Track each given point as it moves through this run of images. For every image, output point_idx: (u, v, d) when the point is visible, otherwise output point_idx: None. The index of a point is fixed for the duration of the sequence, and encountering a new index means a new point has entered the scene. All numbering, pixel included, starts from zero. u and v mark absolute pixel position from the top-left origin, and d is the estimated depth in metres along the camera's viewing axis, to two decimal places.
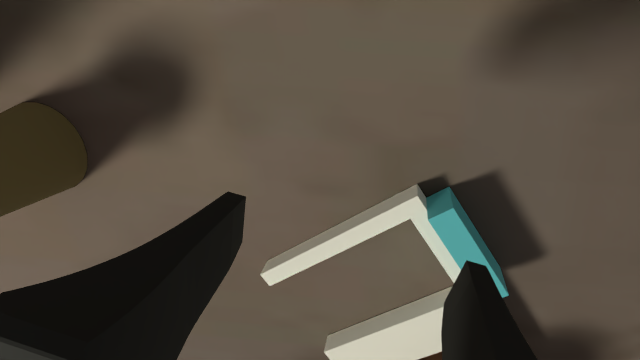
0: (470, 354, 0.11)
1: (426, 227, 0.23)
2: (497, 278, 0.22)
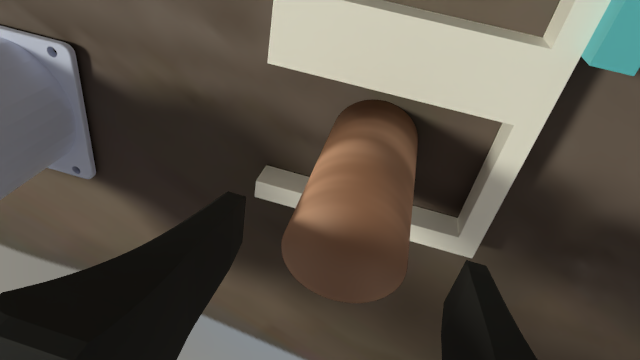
0: (469, 354, 0.11)
1: None
2: None
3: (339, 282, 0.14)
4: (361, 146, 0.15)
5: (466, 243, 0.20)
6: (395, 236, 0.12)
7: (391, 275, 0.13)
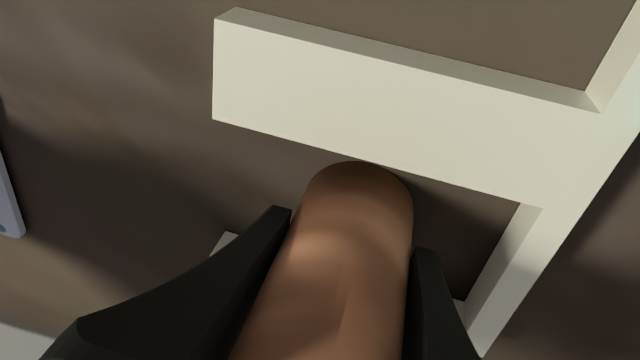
0: (410, 336, 0.11)
1: None
2: None
3: None
4: (332, 246, 0.11)
5: (475, 340, 0.16)
6: None
7: None
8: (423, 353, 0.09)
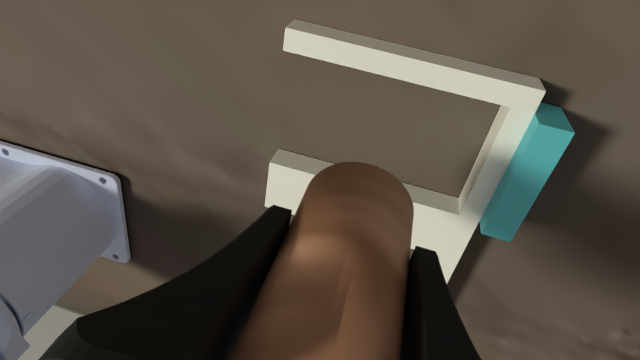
0: (410, 336, 0.11)
1: (511, 129, 0.18)
2: (520, 222, 0.20)
3: None
4: (331, 248, 0.11)
5: None
6: None
7: None
8: (423, 353, 0.09)
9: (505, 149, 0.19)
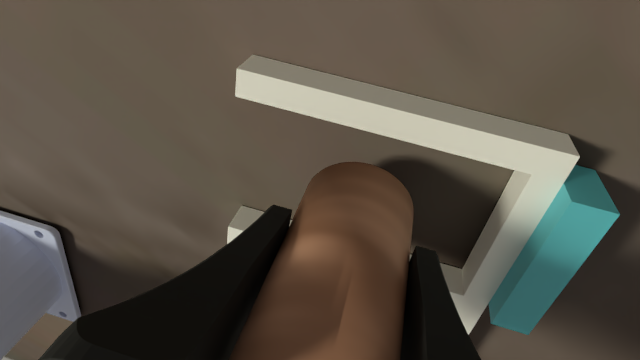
0: (410, 336, 0.11)
1: (532, 200, 0.14)
2: (542, 314, 0.15)
3: None
4: (331, 248, 0.11)
5: None
6: None
7: None
8: (423, 353, 0.09)
9: (523, 224, 0.15)
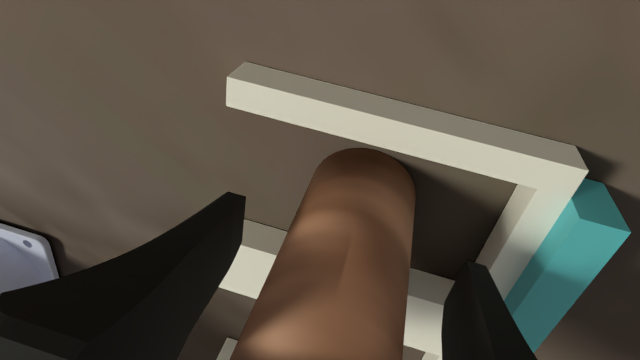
0: (470, 354, 0.11)
1: (538, 215, 0.13)
2: (547, 333, 0.15)
3: None
4: (341, 223, 0.12)
5: None
6: None
7: None
8: None
9: (528, 239, 0.14)
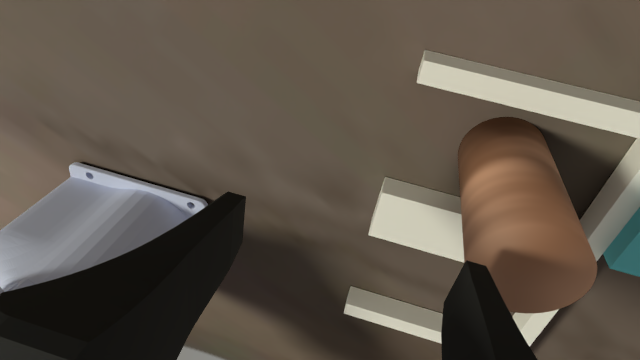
0: (470, 354, 0.11)
1: None
2: None
3: (517, 294, 0.15)
4: (524, 164, 0.16)
5: None
6: (590, 252, 0.13)
7: (575, 288, 0.14)
8: None
9: None
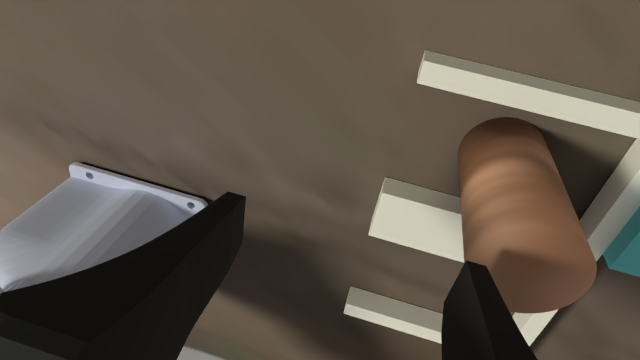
0: (470, 354, 0.11)
1: None
2: None
3: (517, 294, 0.15)
4: (524, 164, 0.16)
5: None
6: (590, 253, 0.13)
7: (574, 288, 0.14)
8: None
9: None
